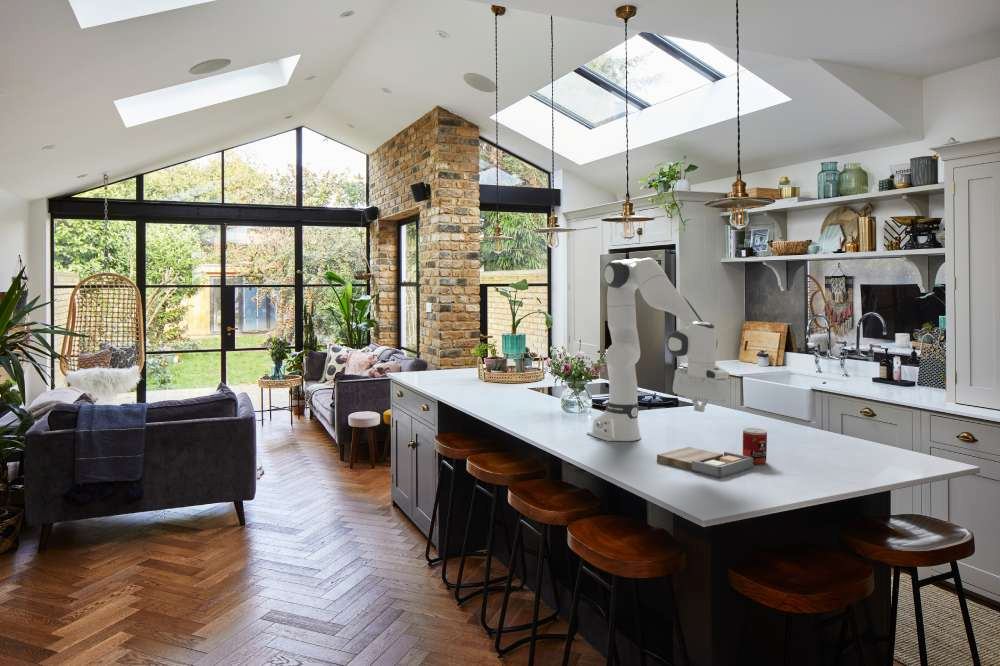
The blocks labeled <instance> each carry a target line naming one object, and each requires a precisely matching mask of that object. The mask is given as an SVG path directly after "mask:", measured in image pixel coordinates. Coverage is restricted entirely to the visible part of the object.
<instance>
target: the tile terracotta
mask: <svg viewBox="0 0 1000 666" xmlns="http://www.w3.org/2000/svg"><path fill="white" fill-rule="evenodd" d="M739 460H742V458H738V457H733V456H729V455H728V456H724V455H723V457H721V458H720V462H725V463H726V464H729V463H732V462H736V461H739Z"/></svg>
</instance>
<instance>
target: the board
mask: <svg viewBox="0 0 1000 666" xmlns="http://www.w3.org/2000/svg"><path fill="white" fill-rule="evenodd" d="M721 457H724V453H719V452H713V451H710V450H705V449H700V448H695V447H692V446H687V447H683V448H678V449H674V450H670V451H667V452H663V453H658V454H657V455H656V462H657V463H660V464H664V465H668V466H672V467H676V468H680V469H684V470H689V471H691V472H693V471H692V460H695V461H699V462H703V463H704V462H707V461H710V460H716V461H720V458H721Z"/></svg>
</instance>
